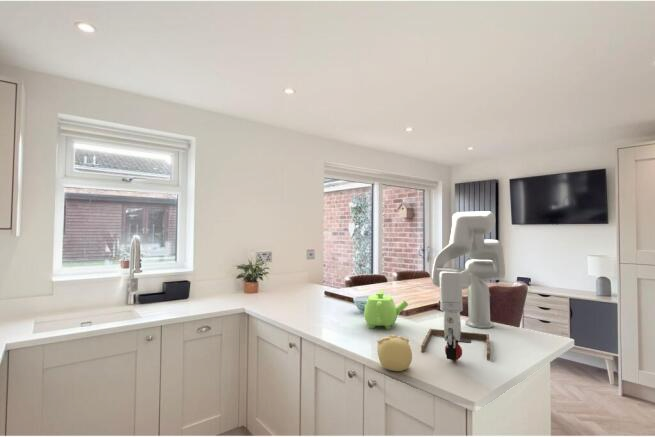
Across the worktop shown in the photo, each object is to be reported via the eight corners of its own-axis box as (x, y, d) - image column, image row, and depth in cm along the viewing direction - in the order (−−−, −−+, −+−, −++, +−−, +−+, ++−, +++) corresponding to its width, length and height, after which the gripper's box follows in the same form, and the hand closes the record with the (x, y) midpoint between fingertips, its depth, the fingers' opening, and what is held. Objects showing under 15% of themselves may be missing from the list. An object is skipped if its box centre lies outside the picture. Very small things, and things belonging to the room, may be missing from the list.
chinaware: (349, 310, 202) (348, 297, 202) (371, 307, 208) (370, 294, 208) (362, 316, 188) (361, 302, 188) (385, 313, 194) (384, 299, 195)
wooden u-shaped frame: (429, 334, 155) (429, 328, 155) (489, 340, 145) (489, 334, 145) (421, 351, 134) (421, 345, 134) (490, 360, 124) (489, 353, 124)
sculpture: (406, 360, 126) (406, 330, 126) (416, 374, 114) (415, 341, 114) (375, 361, 126) (374, 331, 126) (381, 375, 114) (380, 342, 114)
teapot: (409, 333, 157) (408, 297, 158) (362, 331, 162) (361, 297, 162) (408, 318, 182) (407, 288, 182) (367, 317, 186) (366, 287, 187)
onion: (442, 362, 123) (441, 339, 123) (449, 357, 128) (448, 335, 128) (459, 366, 119) (458, 342, 120) (465, 360, 124) (464, 338, 124)
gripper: (461, 312, 114) (462, 364, 113) (463, 301, 130) (465, 347, 129) (437, 310, 117) (438, 361, 116) (442, 300, 133) (444, 345, 132)
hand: (452, 354), depth 123 cm, fingers open, 9 cm apart
